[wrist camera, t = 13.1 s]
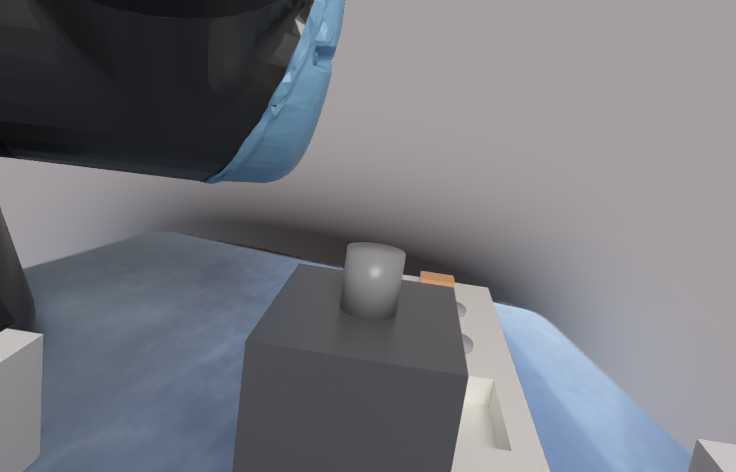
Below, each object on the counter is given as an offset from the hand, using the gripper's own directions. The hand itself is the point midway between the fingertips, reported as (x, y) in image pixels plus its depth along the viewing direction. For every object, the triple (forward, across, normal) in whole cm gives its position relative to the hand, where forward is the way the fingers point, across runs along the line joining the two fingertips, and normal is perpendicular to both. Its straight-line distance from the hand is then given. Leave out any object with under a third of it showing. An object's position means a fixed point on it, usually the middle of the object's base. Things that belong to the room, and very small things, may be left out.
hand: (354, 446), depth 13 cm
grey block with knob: (+3, 0, -9) cm, 10 cm away
